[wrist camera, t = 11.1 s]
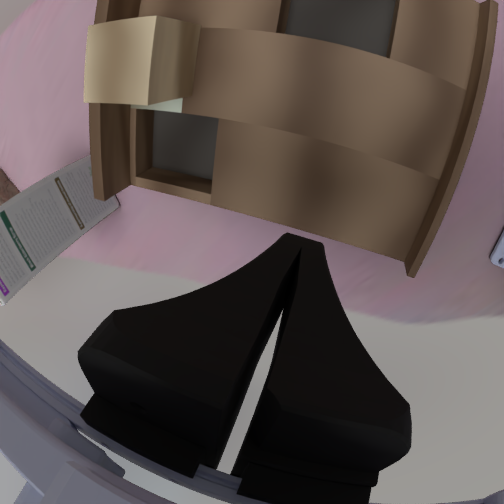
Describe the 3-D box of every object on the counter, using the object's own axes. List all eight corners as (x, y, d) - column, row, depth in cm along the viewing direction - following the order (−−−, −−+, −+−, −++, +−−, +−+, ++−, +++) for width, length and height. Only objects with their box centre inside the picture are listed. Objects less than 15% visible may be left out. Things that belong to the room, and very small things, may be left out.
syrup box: (95, 150, 23) (-44, 230, 11) (123, 207, 25) (1, 309, 14) (65, 172, 25) (-51, 247, 14) (89, 222, 28) (-14, 310, 16)
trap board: (472, 14, 10) (510, -2, 5) (406, 244, 19) (417, 294, 15) (146, -31, 13) (96, -45, 9) (130, 169, 23) (84, 195, 19)
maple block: (200, 25, 13) (156, 15, 10) (191, 95, 16) (147, 105, 12) (138, 28, 14) (88, 25, 10) (132, 91, 17) (83, 102, 13)
